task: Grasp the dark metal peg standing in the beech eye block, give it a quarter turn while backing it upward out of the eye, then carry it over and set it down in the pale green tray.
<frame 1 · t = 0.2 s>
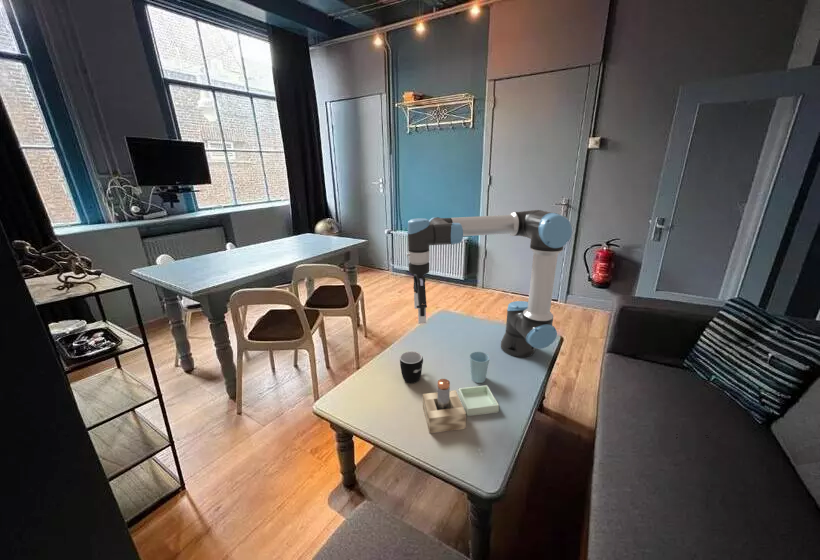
hand: (419, 315, 125), 28 cm above the table, fingers open, 13 cm apart
mug: (413, 377, 134), on the table
peg: (443, 400, 109), in the eye block
tray: (477, 403, 118), on the table
cup: (478, 379, 132), on the table
eye block: (443, 417, 112), on the table
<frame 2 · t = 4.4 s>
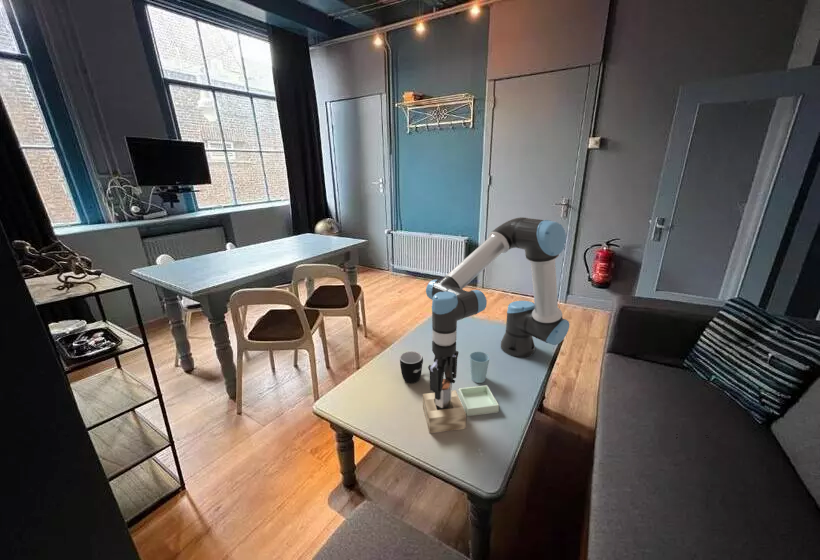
hand: (443, 401, 110), 7 cm above the table, fingers closed on peg, 4 cm apart
peg: (443, 400, 109), in the eye block, touching gripper
everything else where it was.
when the fingers open (8 cm above the table, at t = 11.0 s): peg stays where it is, resting on tray.
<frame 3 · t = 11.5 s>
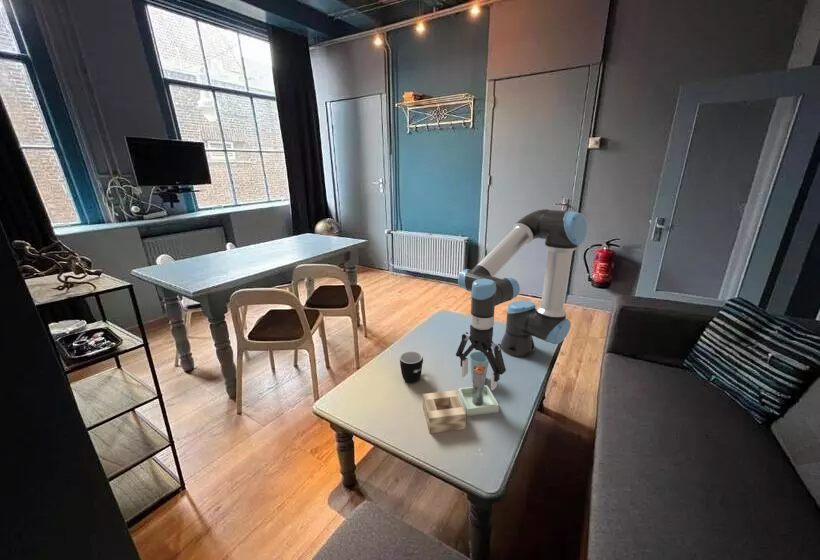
hand: (478, 381, 115), 9 cm above the table, fingers open, 11 cm apart
peg: (478, 385, 116), in the tray, point 8 cm above the table
everything else where it was.
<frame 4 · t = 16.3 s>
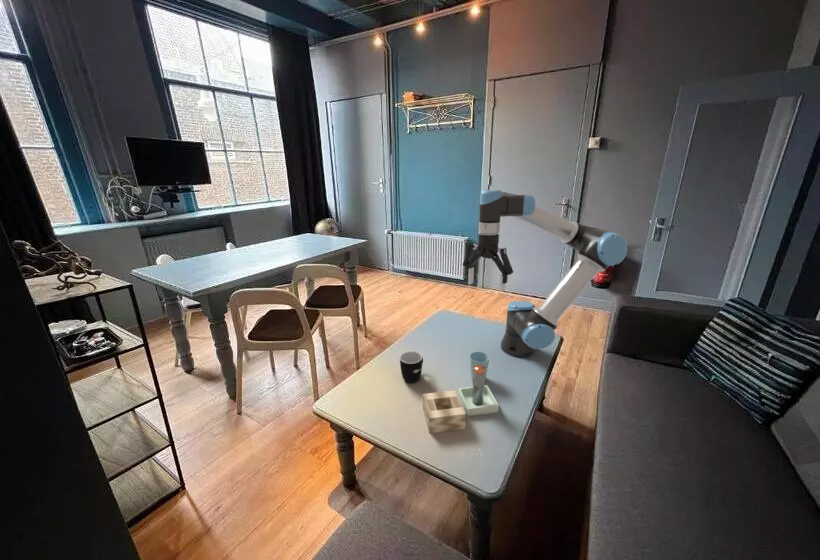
hand: (485, 287, 127), 37 cm above the table, fingers open, 13 cm apart
nothing on the table moved.
at the end: peg inside the target area on the tray (0.0 cm from its centre), point 7.8 cm above the tray's base; peg touching tray; the gripper is holding nothing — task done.
